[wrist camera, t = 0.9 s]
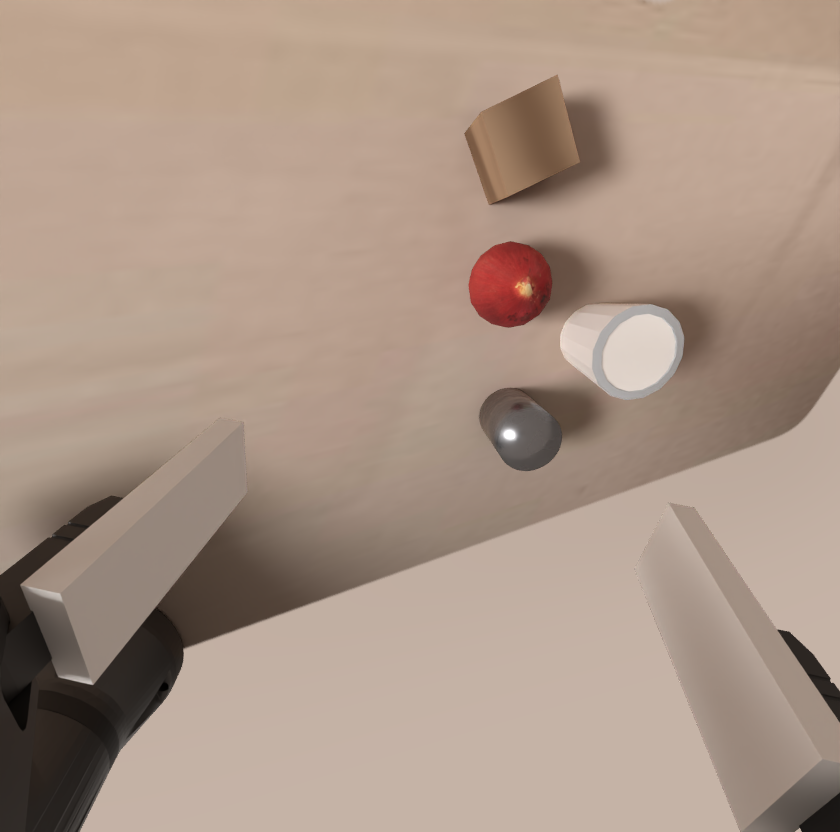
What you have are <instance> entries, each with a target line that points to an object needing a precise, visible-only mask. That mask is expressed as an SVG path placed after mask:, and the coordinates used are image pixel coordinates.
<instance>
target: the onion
mask: <svg viewBox="0 0 840 832" xmlns="http://www.w3.org/2000/svg"><path fill="white" fill-rule="evenodd" d="M551 288H552V278H551V272H550V267H549V265H548V264H547V262H546V260H545V259H544V257H543V256H542V254H541V253H539V252H538V251H536V250H535V249H533V248H532V247H530V246H529V245H525V244H520V243H516V242H511V241H510V242H506V243H502V244H498V245H495V246H493V247H492V248H490V249H489V250H488V251H486V252H485V253H484V254H483V255H481V256H480V258H479V259H478V261H477V262H476V264H475V266H474V267H473V269H472V272H471V276H470V281H469V292H470V299H471V303H472V305H473V306H474V308H475V309H476V311H477V312H478V314H479V316H481V317H482V318H484V319H485V320H487V321H488V322H490V323H491V324H495V325H499V326H503V327H514V326H520V325H524V324H526V323H527V322H529V321H530V320H532V319H533V318H535V317H536V316H538V315H539V314H540V313H541V311H542V310H543V308H544V307H545V306H546V304H547V303H548V301H549V300H550V294H551Z"/></svg>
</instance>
